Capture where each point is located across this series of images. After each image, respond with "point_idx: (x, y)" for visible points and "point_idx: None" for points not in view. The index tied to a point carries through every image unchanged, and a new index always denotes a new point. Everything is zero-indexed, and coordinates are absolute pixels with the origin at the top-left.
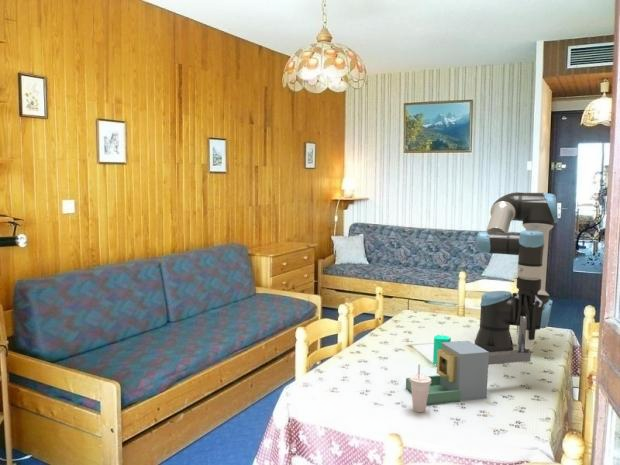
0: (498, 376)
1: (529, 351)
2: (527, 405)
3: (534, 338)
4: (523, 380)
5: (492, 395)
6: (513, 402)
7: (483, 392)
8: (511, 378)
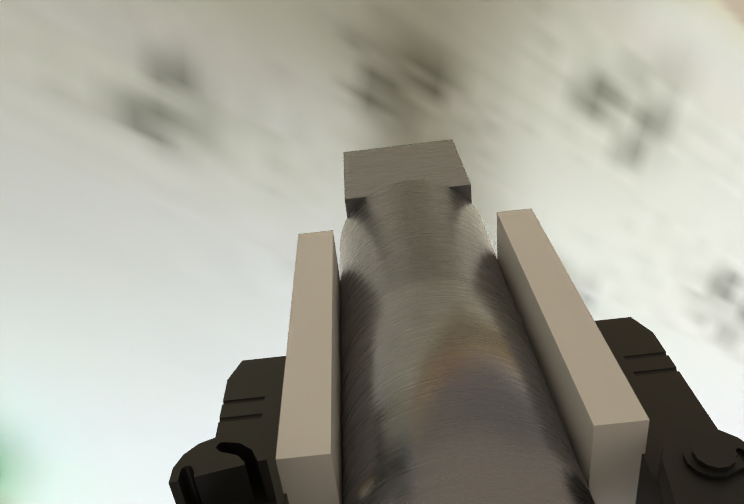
0: (168, 188)
1: (478, 214)
2: (708, 242)
3: (653, 335)
4: (266, 19)
5: None
6: (638, 301)
7: None
8: (215, 103)
